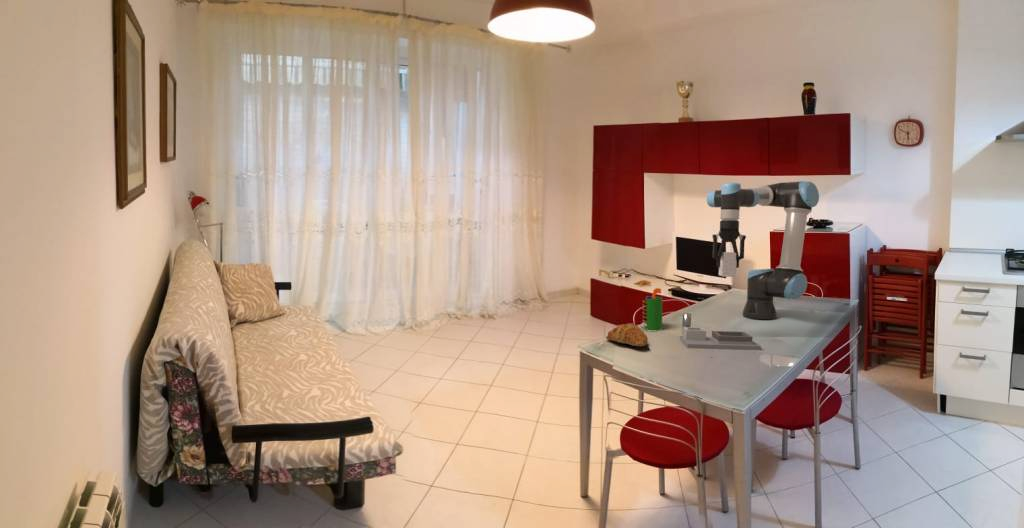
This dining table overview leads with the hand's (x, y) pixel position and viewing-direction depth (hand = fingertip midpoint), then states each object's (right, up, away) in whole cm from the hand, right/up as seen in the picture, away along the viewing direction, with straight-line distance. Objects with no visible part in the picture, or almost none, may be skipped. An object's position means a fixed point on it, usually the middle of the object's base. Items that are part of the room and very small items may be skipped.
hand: (727, 275), depth 263 cm
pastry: (-43, -28, -7) cm, 51 cm away
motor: (-28, -26, +18) cm, 42 cm away
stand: (-7, -28, -9) cm, 30 cm away
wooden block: (0, 0, 0) cm, 0 cm away
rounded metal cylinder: (-15, -27, +7) cm, 32 cm away
